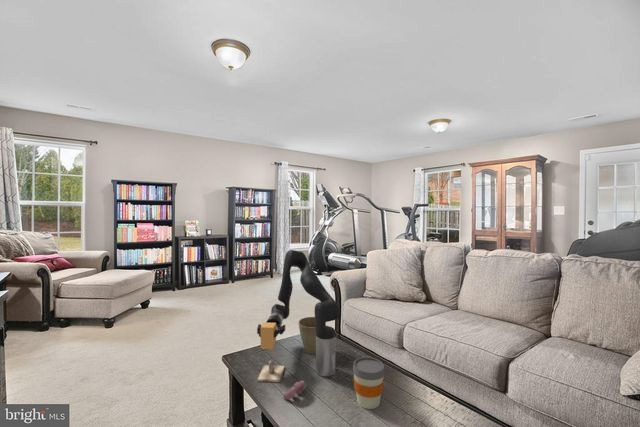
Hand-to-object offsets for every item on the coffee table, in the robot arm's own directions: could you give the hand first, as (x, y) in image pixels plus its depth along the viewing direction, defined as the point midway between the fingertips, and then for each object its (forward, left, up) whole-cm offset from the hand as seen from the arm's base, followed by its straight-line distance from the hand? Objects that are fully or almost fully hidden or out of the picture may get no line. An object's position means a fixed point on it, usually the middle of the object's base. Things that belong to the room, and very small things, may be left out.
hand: (267, 335), depth 140 cm
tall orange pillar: (0, -2, -6) cm, 6 cm away
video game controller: (-15, +15, -18) cm, 28 cm away
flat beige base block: (-2, 0, -18) cm, 18 cm away
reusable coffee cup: (-45, +17, -18) cm, 52 cm away
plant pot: (-19, -24, -18) cm, 35 cm away
